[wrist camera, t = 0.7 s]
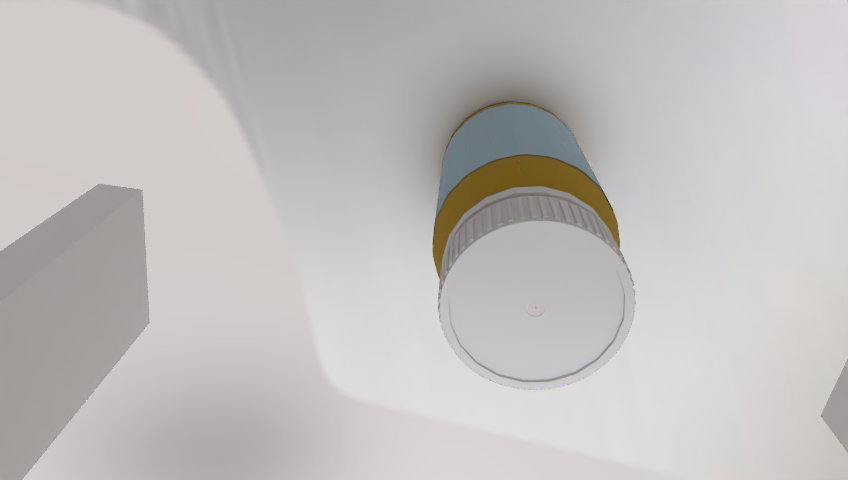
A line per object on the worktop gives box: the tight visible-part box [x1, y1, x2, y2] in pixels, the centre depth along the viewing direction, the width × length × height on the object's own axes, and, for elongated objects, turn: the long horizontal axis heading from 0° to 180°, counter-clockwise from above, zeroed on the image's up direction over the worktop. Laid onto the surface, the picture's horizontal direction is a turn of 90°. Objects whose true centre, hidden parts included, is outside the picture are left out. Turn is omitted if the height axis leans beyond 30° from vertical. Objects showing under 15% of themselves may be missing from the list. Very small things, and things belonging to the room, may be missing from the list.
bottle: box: [433, 102, 635, 390], centre depth 28 cm, size 7×7×15 cm
